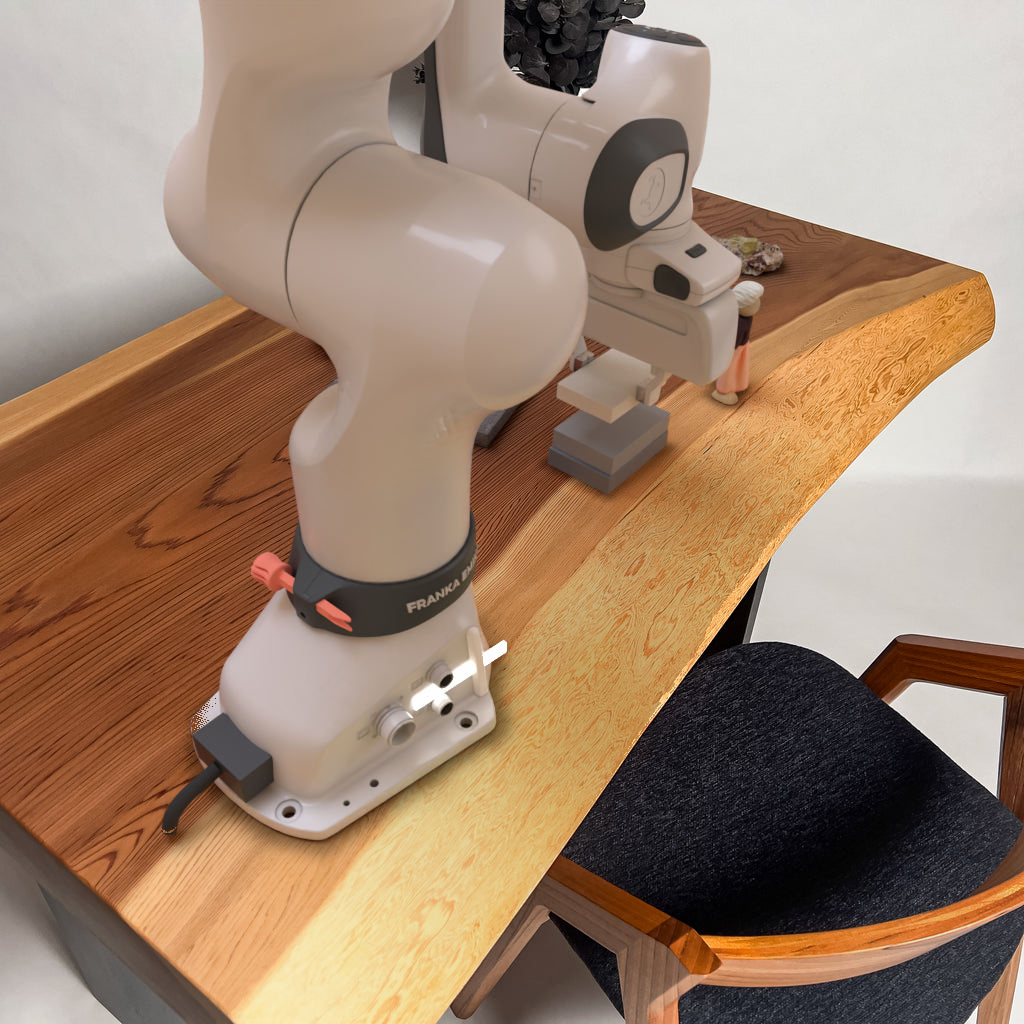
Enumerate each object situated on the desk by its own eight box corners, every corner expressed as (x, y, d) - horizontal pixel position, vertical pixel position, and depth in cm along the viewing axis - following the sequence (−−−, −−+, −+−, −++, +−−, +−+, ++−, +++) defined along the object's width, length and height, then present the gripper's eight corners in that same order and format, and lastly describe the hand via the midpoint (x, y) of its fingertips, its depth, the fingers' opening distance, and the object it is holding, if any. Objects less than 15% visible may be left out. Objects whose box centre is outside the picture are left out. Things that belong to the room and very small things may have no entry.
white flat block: (610, 424, 83) (612, 408, 82) (555, 398, 86) (557, 382, 85) (666, 384, 89) (668, 369, 88) (612, 360, 92) (614, 345, 91)
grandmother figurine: (745, 412, 99) (771, 302, 91) (708, 407, 100) (730, 297, 91) (746, 373, 105) (771, 266, 97) (711, 368, 105) (732, 261, 97)
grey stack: (607, 495, 88) (611, 461, 86) (547, 464, 92) (549, 430, 89) (665, 446, 94) (671, 413, 92) (607, 418, 98) (611, 385, 95)
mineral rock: (793, 239, 126) (782, 246, 119) (785, 272, 127) (774, 281, 121) (713, 224, 129) (698, 230, 122) (707, 257, 131) (691, 264, 124)
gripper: (509, 215, 81) (503, 357, 90) (720, 295, 72) (690, 445, 81) (555, 195, 85) (544, 333, 94) (760, 268, 76) (727, 414, 85)
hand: (613, 386), depth 87 cm, fingers closed on white flat block, 6 cm apart
